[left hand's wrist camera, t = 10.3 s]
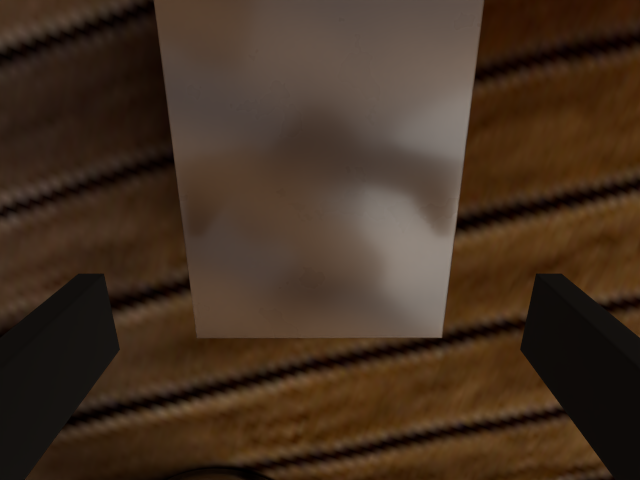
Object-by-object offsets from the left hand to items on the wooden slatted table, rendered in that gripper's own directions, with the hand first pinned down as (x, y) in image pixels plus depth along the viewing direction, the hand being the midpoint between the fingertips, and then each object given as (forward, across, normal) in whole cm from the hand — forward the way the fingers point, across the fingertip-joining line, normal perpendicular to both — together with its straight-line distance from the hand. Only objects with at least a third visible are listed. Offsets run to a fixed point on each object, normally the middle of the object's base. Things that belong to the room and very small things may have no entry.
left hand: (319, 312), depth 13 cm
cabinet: (+14, 0, -5) cm, 15 cm away
